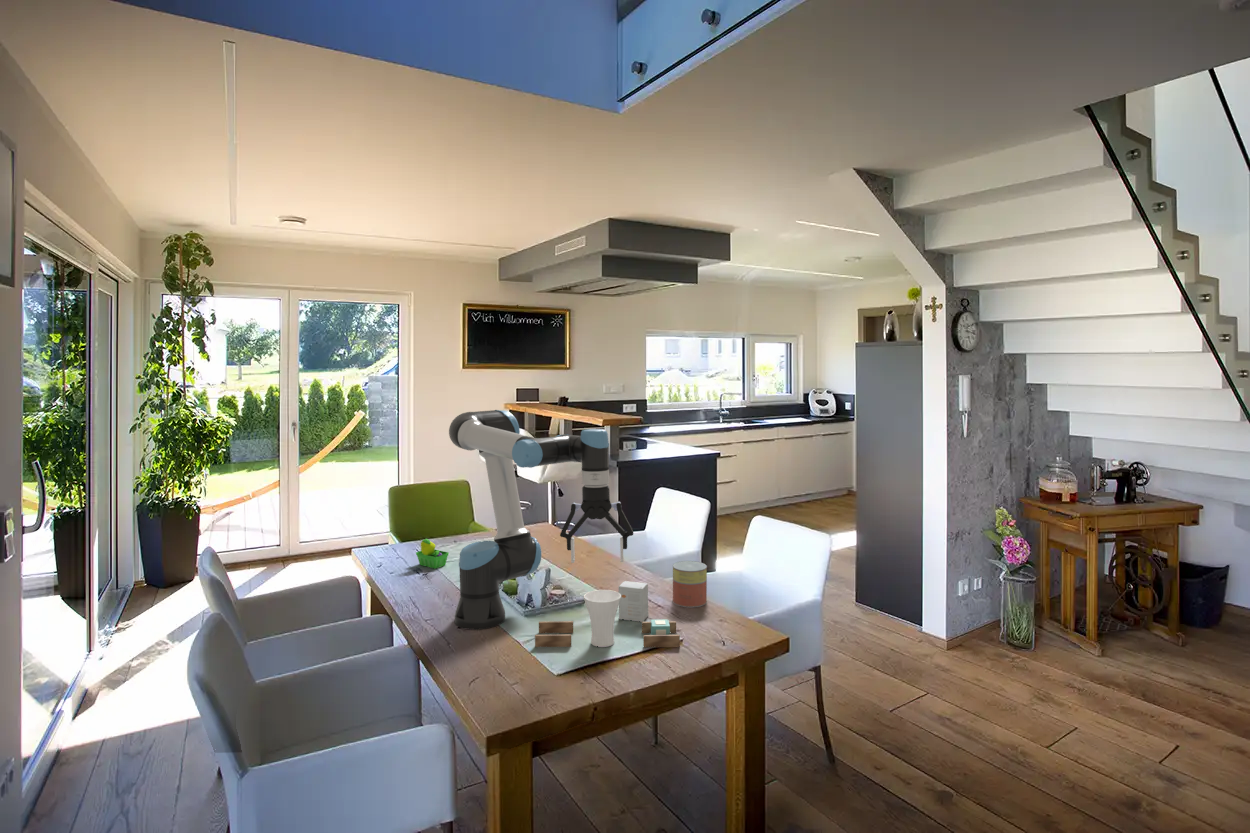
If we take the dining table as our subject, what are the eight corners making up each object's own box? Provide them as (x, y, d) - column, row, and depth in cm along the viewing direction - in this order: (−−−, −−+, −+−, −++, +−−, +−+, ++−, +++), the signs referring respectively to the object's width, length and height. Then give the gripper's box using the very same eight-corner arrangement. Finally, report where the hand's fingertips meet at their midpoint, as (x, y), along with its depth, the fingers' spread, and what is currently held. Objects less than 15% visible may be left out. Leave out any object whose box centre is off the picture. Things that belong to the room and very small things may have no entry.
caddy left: (535, 647, 187) (534, 635, 187) (539, 632, 198) (539, 621, 198) (571, 646, 188) (571, 635, 187) (573, 631, 198) (573, 621, 198)
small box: (648, 616, 211) (648, 583, 210) (643, 622, 205) (643, 588, 205) (624, 613, 213) (624, 580, 212) (618, 619, 208) (618, 585, 207)
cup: (607, 653, 183) (607, 604, 182) (576, 645, 189) (576, 597, 188) (628, 640, 192) (628, 593, 191) (597, 632, 198) (597, 587, 197)
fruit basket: (450, 565, 265) (449, 536, 264) (432, 571, 258) (432, 541, 257) (430, 560, 271) (429, 533, 270) (412, 566, 264) (411, 537, 263)
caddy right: (643, 647, 187) (643, 636, 187) (641, 632, 198) (641, 621, 197) (679, 647, 187) (679, 635, 187) (676, 632, 198) (676, 621, 198)
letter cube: (652, 643, 190) (652, 625, 189) (650, 636, 195) (650, 619, 195) (669, 643, 190) (669, 625, 190) (668, 636, 195) (668, 618, 195)
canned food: (713, 601, 224) (713, 565, 223) (692, 610, 216) (693, 573, 215) (686, 593, 232) (686, 558, 231) (665, 601, 223) (665, 566, 223)
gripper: (549, 488, 183) (551, 565, 184) (641, 486, 183) (642, 563, 184) (552, 484, 191) (554, 558, 192) (640, 482, 191) (642, 556, 192)
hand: (597, 561), depth 188 cm, fingers open, 13 cm apart
